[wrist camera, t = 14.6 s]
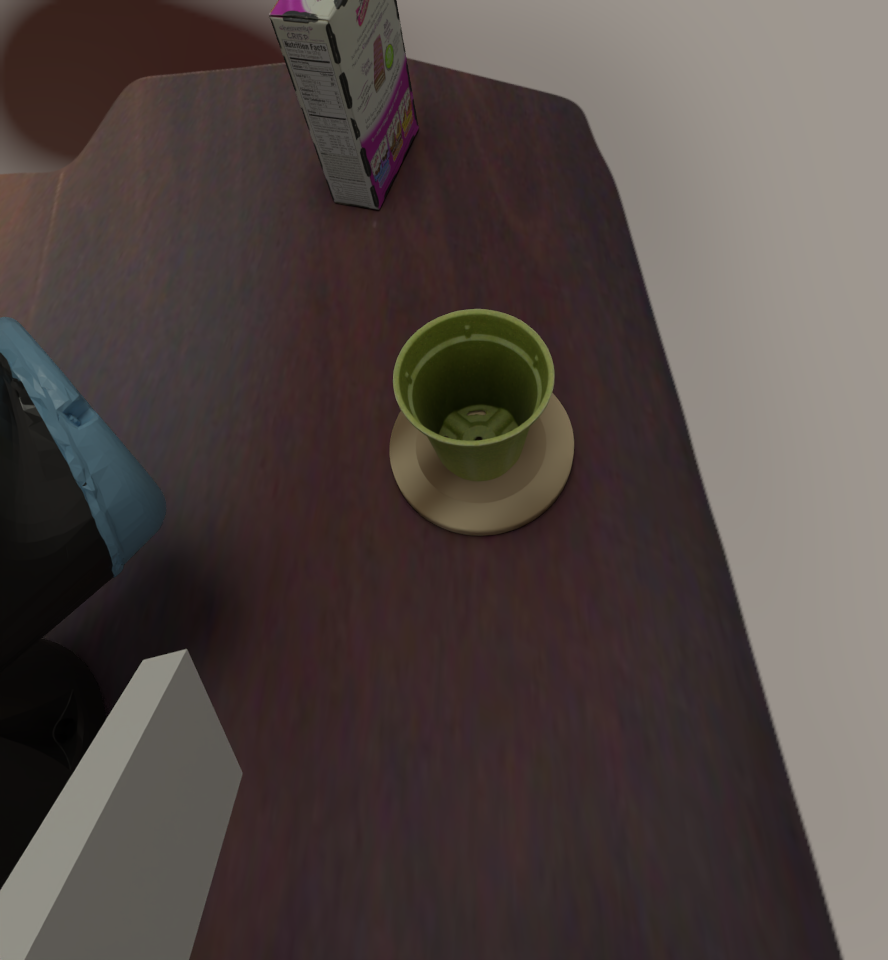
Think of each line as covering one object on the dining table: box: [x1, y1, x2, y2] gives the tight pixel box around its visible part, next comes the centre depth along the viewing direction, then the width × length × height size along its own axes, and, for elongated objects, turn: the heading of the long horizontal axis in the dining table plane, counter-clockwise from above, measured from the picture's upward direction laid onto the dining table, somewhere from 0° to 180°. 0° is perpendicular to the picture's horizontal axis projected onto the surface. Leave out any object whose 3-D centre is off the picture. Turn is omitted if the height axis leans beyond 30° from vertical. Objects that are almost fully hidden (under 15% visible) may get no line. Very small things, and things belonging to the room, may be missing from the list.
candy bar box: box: [269, 0, 419, 210], centre depth 52 cm, size 11×5×16 cm, turn 162°
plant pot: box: [393, 309, 554, 481], centre depth 41 cm, size 9×9×9 cm
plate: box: [390, 393, 574, 536], centre depth 45 cm, size 13×13×1 cm
